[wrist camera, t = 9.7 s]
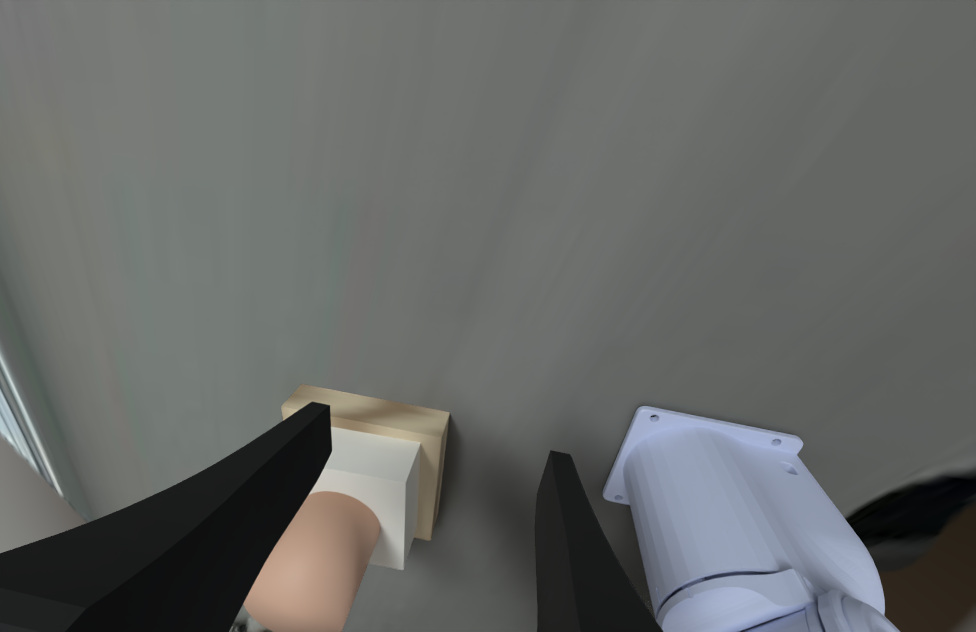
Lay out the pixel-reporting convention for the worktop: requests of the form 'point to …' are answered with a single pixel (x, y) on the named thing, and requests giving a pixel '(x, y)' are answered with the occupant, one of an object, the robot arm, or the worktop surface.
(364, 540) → the cylinder
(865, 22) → the worktop surface
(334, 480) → the tower top
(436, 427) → the tower base
